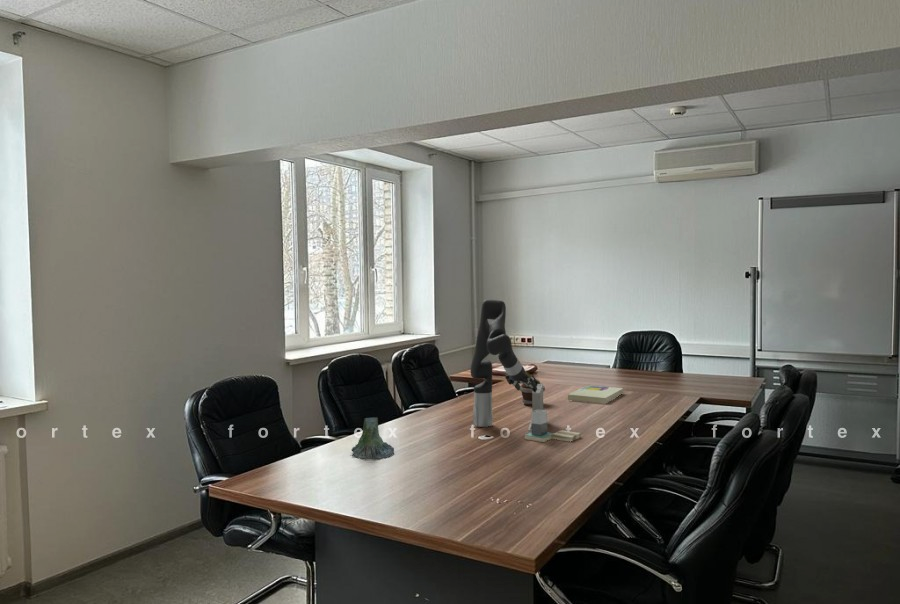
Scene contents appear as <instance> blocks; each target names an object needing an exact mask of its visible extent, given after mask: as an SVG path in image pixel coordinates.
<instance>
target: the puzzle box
mask: <svg viewBox="0 0 900 604" xmlns="http://www.w3.org/2000/svg"><path fill="white" fill-rule="evenodd" d="M622 393H623V394H624V388H623V387H613V386H599V385H586V386H583V387H581V388H579V389H577V390H574V391H572V392H570V393H568V394H567V400H572V401H571V402H576V401H581V402H580V403H587V402H591V403H590V404H598V403H604V404H603V405H607V404H609V403H610V402H609V401H611V400H612V401H614V400H615V399H614V398H616V397H618V396H619V395H621V394H622ZM621 396H622V395H621ZM619 397H620V396H619ZM619 397H618V398H619ZM613 399H614V400H613ZM616 399H617V398H616ZM612 401H611V402H612ZM608 402H609V403H608ZM606 403H607V404H606Z"/></svg>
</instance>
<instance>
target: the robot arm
mask: <svg viewBox="0 0 900 604" xmlns="http://www.w3.org/2000/svg"><path fill="white" fill-rule="evenodd" d="M506 310H507V307H506V302H504V301H503V300H497V299H484V300H483V302H482V305H481V310H480V317H479V318H480V319H479V320H480V322H479V327H478V331H477V336H476V342H475V350H474V354H473V358H472V360H471V364H470V375H471V378H472V379H475V380H482V379H483V381H482V382H481V383H479V384H476V385H475V386H474V387H473V406H472V410H473V412H472V416H473V426H474V427H479V428H487V427H488V426H489V427H493V425H492V424H493V421H494V420H493V363H492V362H491V360H485V358H487V356H489V355H493V356H496V355H497V356H498V357H497V358H498V360H499V362H500V364H501V365H502V368H503V369H504V371H505V373H506V374H505V377H504V378H505V379H506V382H507V383H508V385H512V386H514V388H515V389H516V391H520V388H521V385H522V384H525V385H526V386H530V387H531V388H532V390H533V392H536V391H537V385H538V382H537V380H538V379H537V378H536V377H535V376H534V375H533V374H530V375H531V376H530V377H528V376H527V375H526V372H527V371H526V369H525V368H524V366H523V364H522V363H521V361H520V359H519V358H518V357H517V356H516V354H515V352H514V350H513V345H512V340H511V338H510V336H509V335H508V334H506V333H507V332H506V316H507V315H506V313H507V311H506ZM489 320H493V321H492V322H491V323H489ZM536 379H537V380H536ZM527 380H528V383H526V382H527ZM530 383H532V385H531V384H530ZM520 384H521V385H520ZM489 427H488V428H489Z"/></svg>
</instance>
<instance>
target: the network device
mask: <svg viewBox="0 0 900 604" xmlns="http://www.w3.org/2000/svg"><path fill="white" fill-rule="evenodd" d="M543 386H544V384H543V383H542V384H538V385H537V391H536V392H532V406H531V407H532V411H534V410H537V409H540V410H544V391H543ZM527 431H529V432H532V428H531V421H530V422H529V425H528V429H527Z"/></svg>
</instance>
